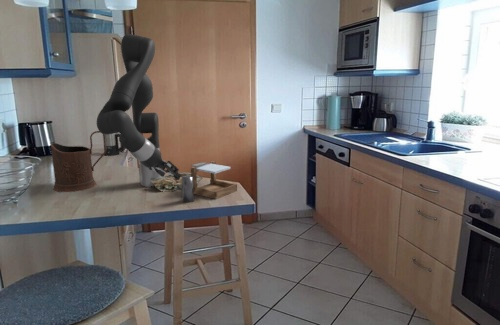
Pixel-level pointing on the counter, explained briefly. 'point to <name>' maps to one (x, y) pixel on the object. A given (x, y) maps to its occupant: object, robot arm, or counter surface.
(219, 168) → the trapdoor
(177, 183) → the rock
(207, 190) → the stand
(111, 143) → the milk frother
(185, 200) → the cylinder
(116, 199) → the counter surface
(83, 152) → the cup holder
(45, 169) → the counter surface
